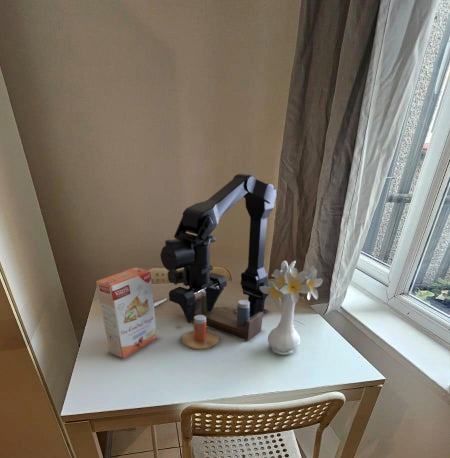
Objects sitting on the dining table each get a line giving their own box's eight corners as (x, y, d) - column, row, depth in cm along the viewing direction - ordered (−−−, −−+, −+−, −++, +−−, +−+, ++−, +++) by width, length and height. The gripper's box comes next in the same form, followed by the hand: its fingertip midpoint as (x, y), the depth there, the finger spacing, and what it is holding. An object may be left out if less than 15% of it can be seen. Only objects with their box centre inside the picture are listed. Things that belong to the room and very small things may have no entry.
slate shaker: (240, 319, 107) (242, 298, 103) (250, 322, 105) (252, 301, 101) (234, 323, 105) (235, 302, 100) (244, 327, 103) (245, 305, 99)
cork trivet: (197, 328, 108) (197, 326, 107) (225, 338, 103) (225, 337, 102) (174, 341, 100) (174, 340, 100) (203, 353, 96) (203, 352, 95)
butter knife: (110, 324, 107) (117, 326, 105) (163, 297, 126) (169, 299, 124) (110, 326, 107) (117, 328, 106) (163, 299, 126) (169, 300, 125)
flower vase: (247, 358, 94) (255, 269, 79) (276, 332, 107) (287, 251, 92) (290, 373, 89) (306, 281, 74) (314, 344, 102) (333, 260, 86)
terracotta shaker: (199, 334, 103) (199, 313, 99) (209, 338, 102) (209, 316, 98) (191, 339, 101) (190, 317, 97) (201, 343, 99) (201, 321, 95)
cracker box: (124, 360, 92) (111, 285, 79) (108, 353, 94) (93, 280, 82) (158, 339, 101) (151, 270, 89) (143, 333, 104) (134, 265, 91)
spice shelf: (203, 311, 118) (203, 294, 114) (261, 331, 107) (263, 312, 103) (188, 319, 112) (188, 301, 109) (247, 341, 102) (249, 321, 98)
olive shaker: (206, 307, 113) (206, 287, 109) (215, 310, 112) (215, 290, 107) (199, 311, 111) (198, 291, 107) (208, 314, 109) (208, 294, 105)
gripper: (197, 248, 97) (198, 299, 107) (150, 264, 85) (156, 320, 94) (228, 256, 92) (226, 309, 102) (184, 273, 80) (186, 332, 89)
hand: (199, 316), depth 97 cm, fingers open, 9 cm apart
